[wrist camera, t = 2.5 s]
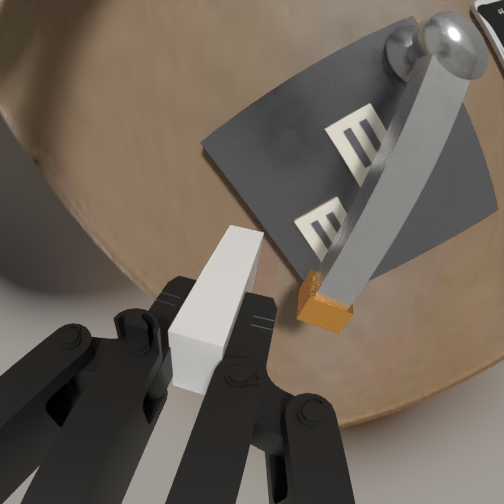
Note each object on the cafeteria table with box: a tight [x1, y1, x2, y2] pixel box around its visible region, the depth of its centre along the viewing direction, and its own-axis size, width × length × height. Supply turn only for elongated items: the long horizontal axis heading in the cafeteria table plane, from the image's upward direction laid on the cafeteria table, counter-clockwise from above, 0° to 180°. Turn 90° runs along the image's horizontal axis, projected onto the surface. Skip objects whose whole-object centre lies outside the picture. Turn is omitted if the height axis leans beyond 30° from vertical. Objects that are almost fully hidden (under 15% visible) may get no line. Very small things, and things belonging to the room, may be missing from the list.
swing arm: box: [296, 11, 488, 334], centre depth 14 cm, size 22×4×3 cm, turn 161°
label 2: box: [325, 103, 387, 188], centre depth 19 cm, size 6×4×1 cm, turn 36°
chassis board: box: [200, 16, 498, 281], centre depth 19 cm, size 18×20×6 cm
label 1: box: [294, 197, 347, 262], centre depth 24 cm, size 6×4×1 cm, turn 36°
